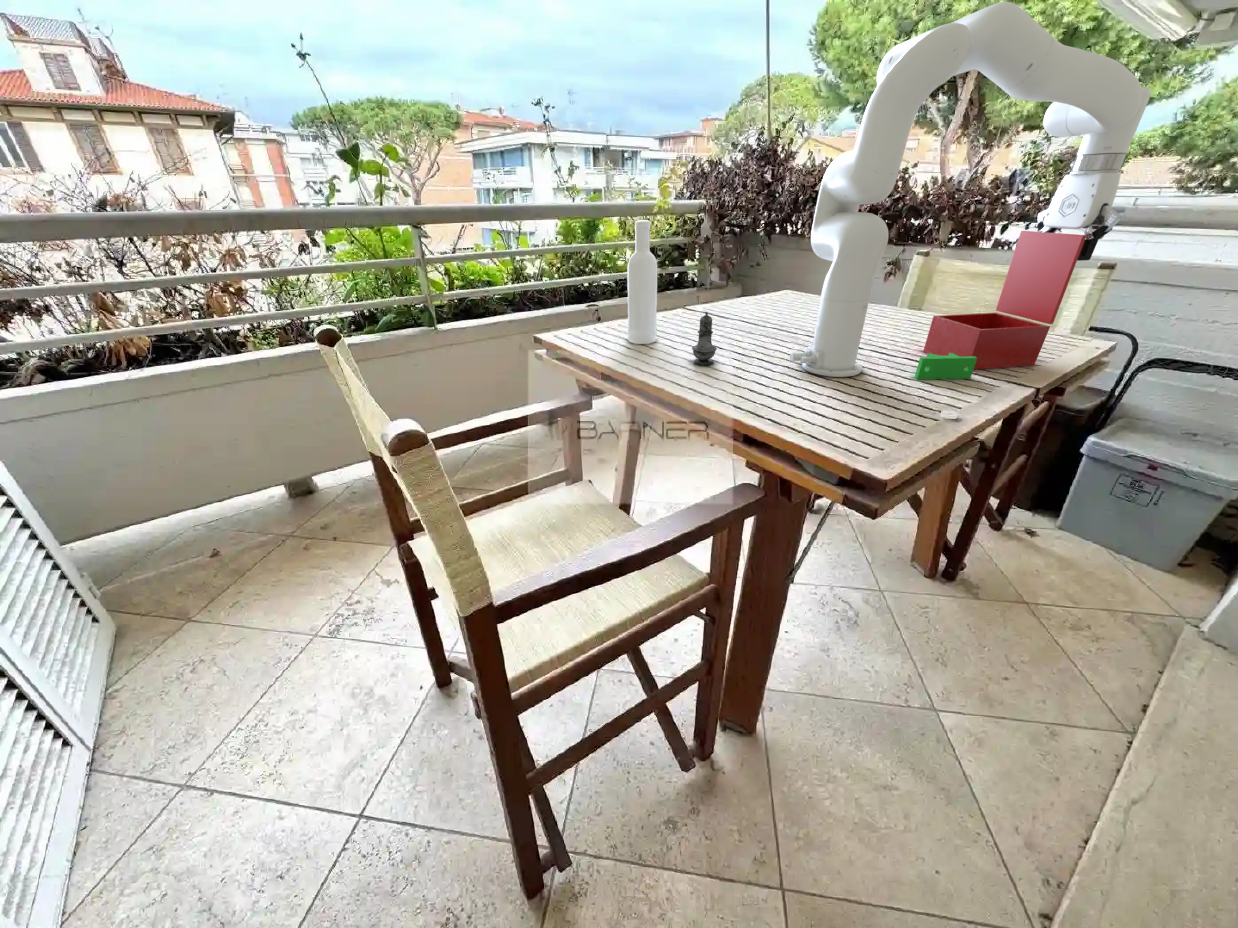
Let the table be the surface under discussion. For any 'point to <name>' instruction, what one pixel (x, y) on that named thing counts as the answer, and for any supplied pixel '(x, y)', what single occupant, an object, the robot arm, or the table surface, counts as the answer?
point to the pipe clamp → (945, 367)
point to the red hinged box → (987, 339)
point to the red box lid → (1039, 274)
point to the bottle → (642, 288)
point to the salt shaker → (704, 343)
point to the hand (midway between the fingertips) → (1060, 257)
